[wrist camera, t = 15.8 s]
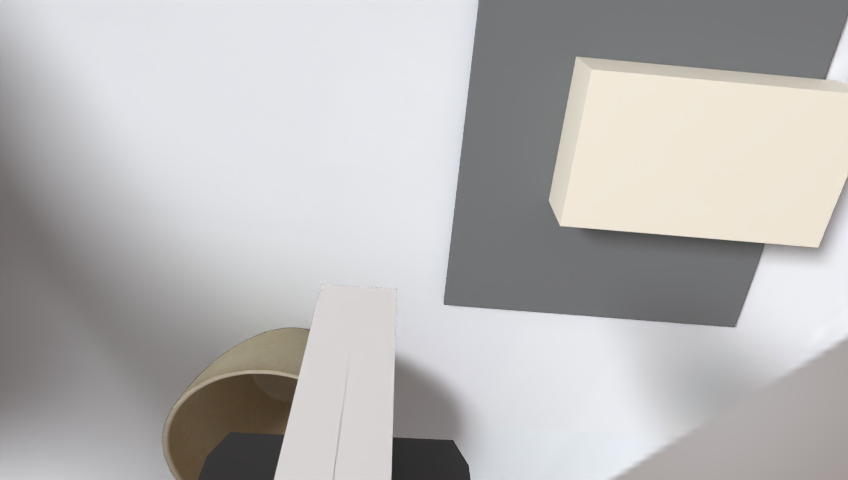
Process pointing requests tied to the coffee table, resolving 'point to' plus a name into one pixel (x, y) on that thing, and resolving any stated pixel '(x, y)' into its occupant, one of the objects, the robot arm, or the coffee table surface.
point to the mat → (540, 137)
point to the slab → (700, 152)
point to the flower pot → (235, 398)
